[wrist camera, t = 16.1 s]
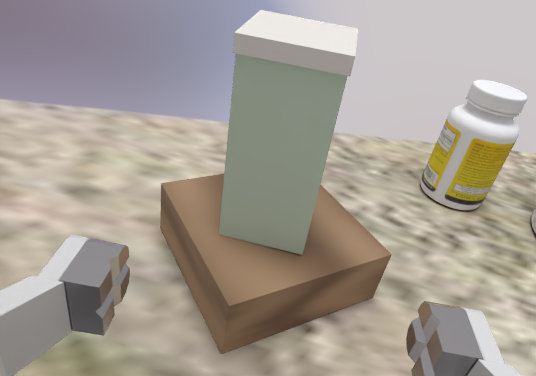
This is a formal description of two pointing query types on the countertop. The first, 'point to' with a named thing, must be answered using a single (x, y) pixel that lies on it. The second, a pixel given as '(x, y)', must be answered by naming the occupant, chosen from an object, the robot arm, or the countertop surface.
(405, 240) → the countertop surface
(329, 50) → the canister
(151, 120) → the countertop surface
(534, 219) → the utensil holder
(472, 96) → the supplement bottle
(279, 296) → the walnut block
